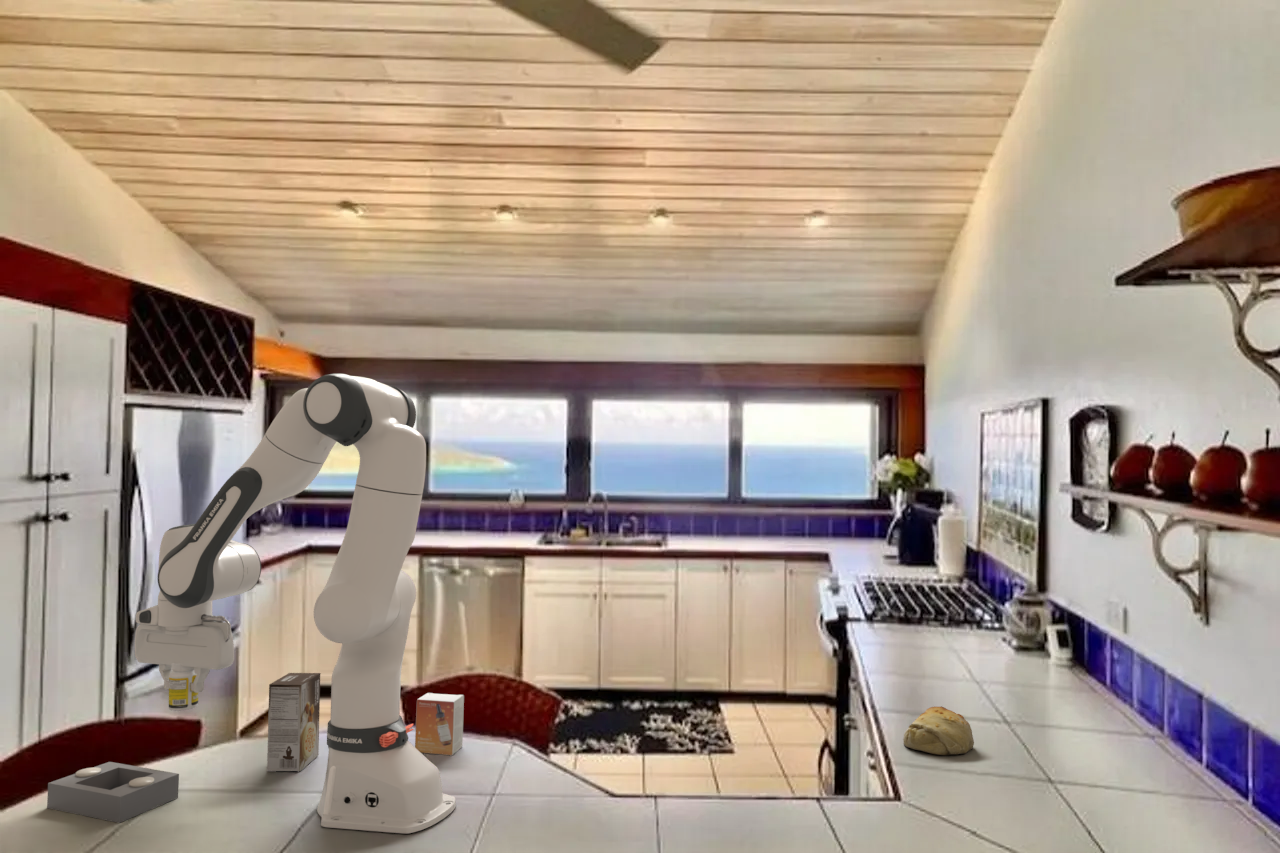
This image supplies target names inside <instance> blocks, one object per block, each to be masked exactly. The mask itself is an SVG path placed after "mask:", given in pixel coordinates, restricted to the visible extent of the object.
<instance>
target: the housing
mask: <svg viewBox="0 0 1280 853" xmlns="http://www.w3.org/2000/svg"><path fill="white" fill-rule="evenodd" d="M179 782H180V773H176V772H170V771H164V770H160V769H154V768H147V767H142V766H136V765H131V764H126V763H119V762H113V761H108V762H105V763H101V764H99V765H96V766H94V767H86V768H82V769H79V770H77V771H76V772H75V773H73V774H70V775H67V776H65V777H61V778H59V779H56V780H53V781H51V782H48V783H47V803H46V804H47V805H46V808H47V809H50V810H51V809H52V810H56V811H60V812H64V813H65V812H66V813H70V814H76V815H79V814H80V816H86V817H89V818H90V817H91V818H94V819H99V820H104V821H109V822H113V823H118V824H119V823H123V822H125V821H127V820H129V819H132V818H133V817H136V816H138V815H141V814H143V813H146V812H148V811H150V810H153V809H156V808H157V807H160V806H162V805H164V804H167V803H169V802H172V801H174V800H176V799H179V786H180V783H179Z"/></svg>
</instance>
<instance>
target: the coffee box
mask: <svg viewBox="0 0 1280 853" xmlns="http://www.w3.org/2000/svg"><path fill="white" fill-rule="evenodd" d="M321 674H322V673H320V672H288V673H287V674H285V675H283V676H282V677H280V678H278V679H276V680H275V681H272V682H271V683H270V684H269V686H268V718H267V719H268V720H267V721H268V722H267V724H268V725H267V726H268V727H267V753H266V754H267V755H266V756H267V757H266V758H267V759H266V770H267V772H276V771H300V772H301V771H302V770H303V769H305V767H307V766H308V765H309V764H310V763H311V762H313V761H314V760H315V759H316V758H317V757H319V754H320V753H319V752H320V751H319V750H320V749H319V748H320V747H319V746H320V744H319V743H320V742H319V741H320V701H321Z"/></svg>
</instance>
